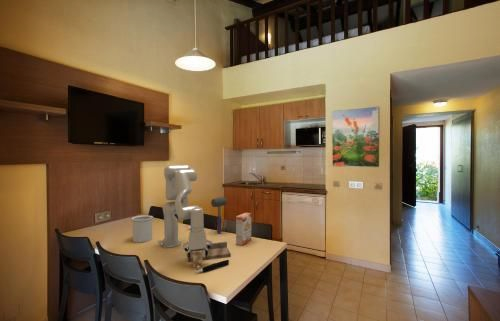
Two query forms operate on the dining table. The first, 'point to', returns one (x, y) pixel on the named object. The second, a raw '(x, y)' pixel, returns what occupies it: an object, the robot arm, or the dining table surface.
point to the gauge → (197, 259)
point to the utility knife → (213, 266)
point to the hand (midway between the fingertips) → (197, 257)
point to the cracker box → (243, 228)
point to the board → (213, 251)
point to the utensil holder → (142, 228)
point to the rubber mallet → (219, 210)
